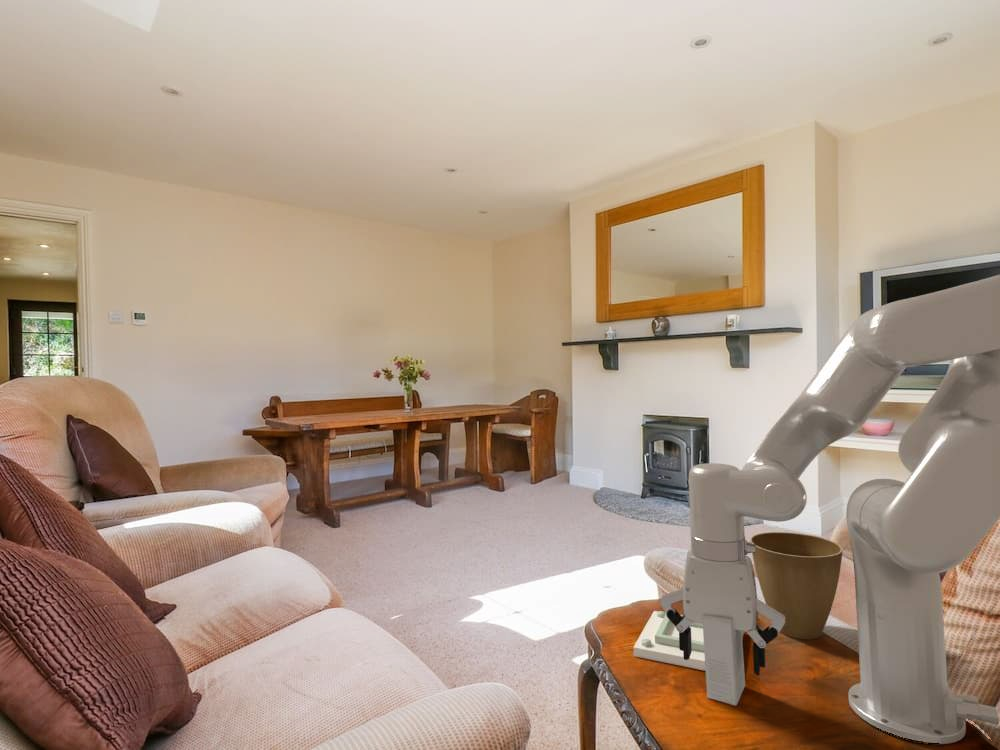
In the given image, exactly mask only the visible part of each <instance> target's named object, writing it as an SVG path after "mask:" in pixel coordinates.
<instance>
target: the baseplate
mask: <svg viewBox="0 0 1000 750" xmlns="http://www.w3.org/2000/svg"><path fill="white" fill-rule="evenodd" d="M680 615H681V616H683V615H684V614H683V615H682V614H680ZM690 628H691V644H692V652H691V655H690V658H689V659H688V660H684V655H683V651H681V650H680V647H679V632H678V631H677V629H676V626H675V625H674V624H673V623H672V622H671V621H670V620H669V619H668V617H667V615H666V612H665V611H664V610H663V611H662V610H653V612H652V614H651V616H650V618H649V619H648V621H647V623H646V624H645V626H644V628H643V629H642V632H641V633H640V635H639V637H638V638H637V640H636V642H635V644H634V646H633V650H632V651H633V657H636V658H641V659H646V660H651V661H655V662H656V661H657V662H660V663H667V664H669V665H675V666H680V667H685V668H690V669H695V670H700V671H705V672H706V670H705V653H704V636H703V624H698V623H694V622H693V623H692V624H691V625H690ZM743 638H744V632H743V631H742V640H743Z"/></svg>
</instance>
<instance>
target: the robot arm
mask: <svg viewBox="0 0 1000 750" xmlns="http://www.w3.org/2000/svg"><path fill="white" fill-rule="evenodd" d="M947 361H949V363H948V364H949V365H948V370H947V371H946V374H945V376H944V377H943V378H942V379H943V380H941V382H940V383H939V385H938V387H937V389H936V390H935V392H934V393H933V395H931V397H930V398H929V400H928V401H927V403H926V404H925V405H924V407H923V408H922V409H921V410H920V412H919V414H917V416H916V417H915V419H914V420H913V422H912V423H911V424H910V426H908V428H907V429H906V431H904V433H903V435H902V436H901V439H900V441H899V444H898V457H899V460H900V462H901V463H902V465H903V466H904V468H905V469H906V470H907V471H908V472H910V475H909V477H908V478H907V479H906V480H905V482H904V481H901V480H896V479H893V478H875V479H874V478H873V479H872V480H869V481H866V482H863V483H861V484H860V485H859V486H857V487H856V488H855V489H854V490H853V492H852V493H851V494H850V496H849V499H848V501H847V505H846V510H845V511H846V512H845V513H846V516H845V517H846V524H847V525H846V527H847V532H848V537H849V543H850V547H851V555H852V561H853V562H852V563H853V573H854V574H853V575H854V587H855V588H854V589H855V607H856V623H857V640H858V641H857V643H858V656H859V658H858V659H859V676H860V682H859V683H856V684H854V685H852V686H851V687H850V688H849V690H848V693H847V694H848V703H849V706H850V708H851V709H852V710H853V711H854V712H855V713H856V715H858V716H859V717H860V718H861V719H862V720H863V721H865V722H867V724H870V726H873V727H874V728H877V729H878V728H879V730H880V729H881V730H880V731H883V732H885V731H886V733H887V732H888V733H887V734H889V733H892V734H894V735H893V736H895V735H897V736H896V737H898V736H900V737H899V738H901V737H903V738H902V739H904V738H908V739H912V740H917V741H923V742H931V743H939V744H938V745H949V744H953V743H956V742H958V741H960V740H962V739H963V738H964V737H965V735H966V733H967V726H966V721H967V719H972V720H976V721H979V722H982V723H983V722H984V723H988V724H992V725H997V726H998V725H999V724H1000V720H999V719H1000V717H999V713H998V710H997V708H996V707H995V706H992V705H991V706H990V705H985V704H981V703H980V702H979V699H978V697H977V696H973V695H969V694H961V693H960V694H959V693H955V691H954V690H952V689H951V688H950V686H949V684H948V673H947V656H946V642H945V641H946V639H945V627H944V609H943V608H944V604H943V603H944V601H943V592H942V591H943V589H942V583H941V576H940V573H941V574H942V573H945V572H947V571H950V570H952V569H954V568H956V567H957V566H959V565H961V564H962V563H963V562H964V561H965V560H966V559H967V558H969V557H970V555H972V554H973V552H974V551H975V550H976V548H977V547H978V546H979V545H980V544H981V542H982V541H983V540H984V539H985V537H986V536H987V535H988V533H989V532H990V531H991V530H992V528H994V526H995V524H997V522H998V521H999V520H1000V274H997V275H993V276H991V277H987V278H983V279H979V280H977V281H972V282H968V283H964V284H959V285H957V286H956V285H955V286H953V287H949V288H946V289H942V290H938V291H934V292H930V293H926V294H922V295H918V296H914V297H913V296H912V297H909V298H904V299H899V300H896V301H892V302H889V303H885V304H883V305H880V306H878V307H875V308H871V309H869V310H867V311H865V312H864V313H862V314H860V315H859V316H858V317H857V318H856V319H855V320H854V321H853V322H852V323H851V325H850V326H849V327H848V328H847V330H846V331H845V333H844V334H843V335H842V337H841V338H840V339H839V341H838V342H837V343H836V345H835V346H834V348H833V349H832V351H830V354H829V355H828V356H827V357H826V359H825V360H824V362H823V363H822V365H821V367H820V368H819V369H818V371H817V372H816V374H814V376H813V377H812V378H811V380H810V381H809V383H808V384H807V385H806V387H805V388H804V389H803V391H802V392H801V393H800V395H798V397H797V398H796V399H795V400H794V401H793V402H792V403H791V405H790V406H789V407H788V408H787V410H786V411H785V412H784V414H783V415H782V416H781V417H780V418H779V420H777V421H776V423H774V425H772V427H771V428H770V429H769V431H768V432H767V433H766V434H765V436H764V437H763V439H762V440H761V441H760V443H759V444H758V445H757V447H756V448H755V450H754V451H753V453H752V454H751V455H750V457H749V458H748V459H747V461H746V463H745V464H744V466H743V468H742V469H739V468H738V467H736V466H735V465H731V464H726V463H725V464H724V463H714V462H713V463H712V462H711V463H709V462H708V463H700V464H695V465H693V466H692V467H691V468H690V470H689V472H688V492H689V493H688V494H689V495H688V497H689V522H690V523H689V526H690V549H691V550H688V551H687V553H686V558H685V564H684V571H683V573H684V575H683V587H682V588H680V589H677V590H674V591H671V592H668V593H666V594H662V595H661V597H660V599H659V602H660V603H659V604H660V605H661V607H662V609H663V611H664V612H665V613H666V615H667V617H668V619H669V620H670V621H671V622H672V623H673V624H674V625H675V626H676V629H677V631H678V632H679V647H680V650H681V651H683V655H684V660H688V659H689V658H690V655H691V652H692V644H691V628H690V625H691V624H692V623H693V622H694V623H698V624H703V619H702V616H703V615H706V616H713V617H720V618H727V619H732V620H733V626H734V630H736V631H743V633H745V632H746V633H747V634H748V635H749V637H750V638H751V639H752V641H753V644H752V645H753V647H752V654H753V655H752V656H753V657H752V658H753V674H755V676H760V674H761V668H763V669H765V668H766V649H765V648H766V646H767V645H768V644H770V642H772V641H773V640H775V639H776V638H777V637H778V635H779V633H781V632H780V630H781V629H782V627H783V625H784V624H785V616H784V615H783V614H781V613H780V612H778V611H776V610H775V609H773V608H771V607H770V606H768V605H767V604H766V602H763V601H761V600H760V599H759V598H758V594H757V593H758V592H757V583H756V577H755V570H754V566H753V562H752V558H751V557H750V556H748V554H752V553H756V544H752V543H750V541H748V540H747V539H746V536H745V535H746V534H745V517H748V518H752V519H758V520H764V521H769V522H787V521H791V520H794V519H795V518H797V517H798V516H800V515H801V514H802V512H803V511H804V510H805V507H806V505H807V502H808V501H807V500H808V499H807V498H808V496H807V491H806V488H805V486H804V484H803V483H802V482H801V480H800V479H799V478H801V476H802V475H803V473H804V472H805V470H806V469H807V468H808V467H809V465H811V463H812V462H813V461H814V459H816V458H817V456H818V455H819V454H820V453H821V452H822V451H824V450H825V449H826V448H828V447H829V446H831V445H832V444H833V443H835V442H838V441H839V440H841V439H844V438H846V437H849V436H851V435H852V434H853V433H854V432H856V431H857V430H859V429H861V428H862V427H863V426H864V425H865V423H866V422H867V421H868V420H869V417H871V415H872V414H873V412H874V411H875V410H876V409H877V408H878V405H879V404H880V403H881V402H882V401H883V399H884V398H885V396H886V395H887V394H888V392H889V390H891V388H892V387H893V386H894V384H895V383H896V381H897V380H898V379H899V378H900V377H901V375H902V374H903V372H904V371H905V370H906V368H912V367H919V366H925V365H929V364H931V365H932V364H937V363H941V362H947ZM679 601H682V610H683V611H682V612H683V616H681V615H682V614H680V612H678V610H677V609H676V608H674V605H673V604H674V603H676V602H679ZM759 614H761V615H763V616H764V617H766V618H767V619H769V620H770V621H771V623H770V625H768V626H767V627H766V628H764V629H763V628H762V627H761V626H760V625H759V624H758V623H757V621H758V618H759ZM892 734H891V735H892ZM908 739H907V740H908Z"/></svg>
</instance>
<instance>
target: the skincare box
mask: <svg viewBox="0 0 1000 750" xmlns="http://www.w3.org/2000/svg"><path fill="white" fill-rule="evenodd" d="M702 619H703V636H704V653H705V670H706V671H705V685H706V697H707V698H708V699H711V700H714V701H718V702H722V703H725V704H728V705H732V706H737V705H738V703H739V701H740V699H741V696H742V694H743V692H744V689H745V687H746V678H745V676H746V674H745V664H744V663H745V660H744V659H745V658H744V648H743V646H744V645H743V639H742V631H736V630H734V626H733V620H732V619H727V618H720V617H713V616H706V615H703V616H702Z"/></svg>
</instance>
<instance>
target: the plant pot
mask: <svg viewBox="0 0 1000 750" xmlns="http://www.w3.org/2000/svg"><path fill="white" fill-rule="evenodd" d="M749 542H750V543H752V544H756V553H751V555H752V560H753V563H754V568H755V573H756V576H757V581H758V583H759V586H760V590H761V594H762V596H763V599H764V603H765V604H767V605H768V606H770V607H771V608H773V609H775V610H776V611H778V612H780V613H781V614H783V615H784V616H785V624H784V625H783V627H782V629H781V630H780V632H779V633H781V634H783V635H785V636H787V637H790V636H791V637H790V638H795V639H800V640H815V639H818V638H820V637H821V636H822V634H823V632H824V629H825V627H826V624H827V622H828V619H829V616H830V614H831V611H832V607H833V604H834V600H835V596H836V593H837V589H838V584H839V579H840V573H841V566H842V559H843V551H844V549H843V547H842V546H841V545H840V544H839V543H837V542H835V541H833V540H830V539H828V538H824V537H820V536H815V535H811V534H804V533H797V532H786V531H785V532H783V531H782V532H781V531H780V532H779V531H771V532H760V533H756V534H754V535H752V536H751V537H750V538H749Z"/></svg>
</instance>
